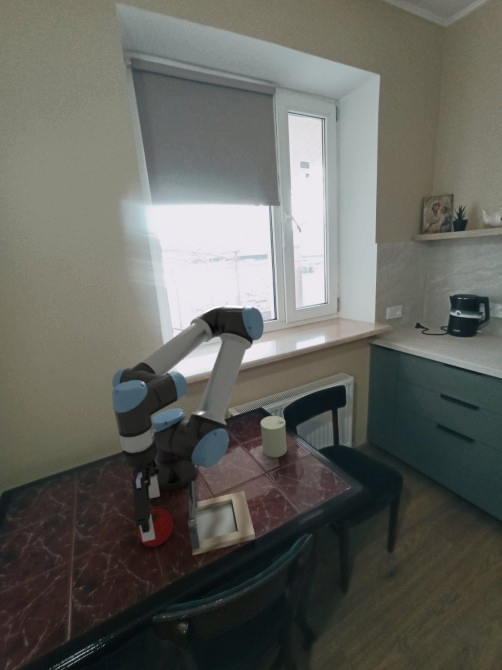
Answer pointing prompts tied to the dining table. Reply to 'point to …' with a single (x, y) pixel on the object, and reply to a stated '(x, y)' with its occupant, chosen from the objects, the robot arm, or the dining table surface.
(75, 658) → the dining table surface
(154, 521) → the tomato
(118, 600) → the dining table surface
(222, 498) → the beige flat square frame
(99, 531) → the dining table surface
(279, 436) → the can
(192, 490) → the grey curved bar
